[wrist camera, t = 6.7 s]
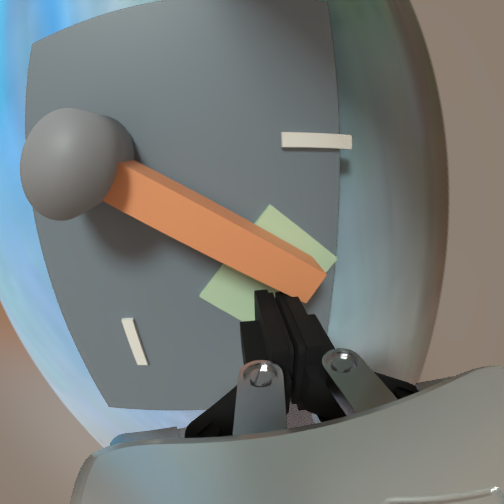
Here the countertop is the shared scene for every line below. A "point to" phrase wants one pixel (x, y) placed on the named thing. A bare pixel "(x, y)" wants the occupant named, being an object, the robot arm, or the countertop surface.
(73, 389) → the countertop surface
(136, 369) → the tuner board
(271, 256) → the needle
